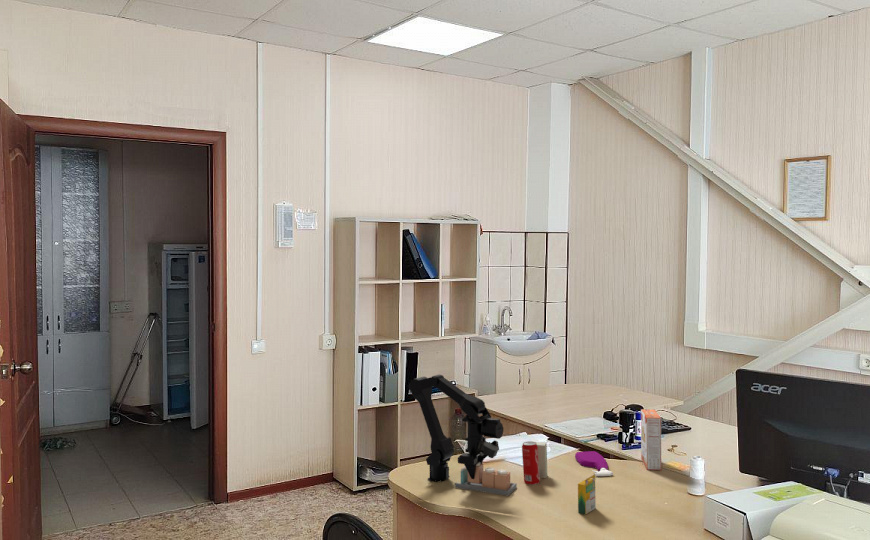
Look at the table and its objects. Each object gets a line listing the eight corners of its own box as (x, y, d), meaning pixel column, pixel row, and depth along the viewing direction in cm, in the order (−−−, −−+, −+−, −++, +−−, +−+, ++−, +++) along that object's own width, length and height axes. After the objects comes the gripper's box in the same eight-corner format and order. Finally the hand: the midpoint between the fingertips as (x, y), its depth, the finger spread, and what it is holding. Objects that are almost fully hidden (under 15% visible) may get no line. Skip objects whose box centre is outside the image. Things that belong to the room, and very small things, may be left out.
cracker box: (640, 459, 284) (640, 408, 284) (655, 459, 284) (655, 409, 283) (645, 470, 271) (645, 417, 270) (661, 470, 270) (661, 417, 269)
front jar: (494, 491, 248) (494, 472, 247) (498, 487, 251) (498, 468, 251) (506, 492, 246) (506, 473, 245) (510, 488, 250) (510, 470, 249)
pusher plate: (460, 484, 252) (460, 468, 252) (467, 479, 258) (467, 463, 258) (463, 485, 252) (463, 469, 251) (470, 479, 257) (469, 464, 257)
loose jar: (478, 483, 250) (478, 465, 250) (467, 482, 252) (467, 463, 252) (483, 480, 254) (483, 461, 254) (472, 478, 256) (472, 460, 256)
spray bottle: (598, 457, 288) (619, 478, 264) (572, 458, 287) (591, 479, 263) (598, 450, 288) (619, 470, 264) (572, 451, 287) (591, 471, 263)
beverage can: (539, 486, 253) (539, 445, 253) (521, 485, 255) (521, 444, 254) (540, 480, 259) (540, 441, 259) (522, 479, 261) (522, 440, 260)
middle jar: (482, 489, 250) (482, 470, 249) (486, 485, 254) (486, 466, 253) (493, 490, 248) (493, 472, 247) (498, 487, 252) (497, 468, 251)
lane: (455, 488, 252) (455, 483, 252) (464, 481, 260) (464, 475, 260) (508, 496, 243) (508, 491, 243) (516, 488, 251) (516, 483, 251)
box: (547, 475, 265) (547, 442, 265) (545, 479, 261) (545, 445, 260) (534, 474, 267) (533, 441, 266) (531, 478, 263) (531, 444, 262)
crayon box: (587, 506, 234) (587, 472, 233) (596, 508, 232) (596, 474, 231) (577, 512, 228) (577, 477, 228) (585, 515, 226) (585, 479, 226)
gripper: (486, 443, 241) (486, 488, 241) (504, 430, 257) (504, 472, 258) (457, 440, 245) (457, 483, 246) (476, 427, 262) (477, 468, 263)
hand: (475, 476), depth 253 cm, fingers closed on loose jar, 4 cm apart
